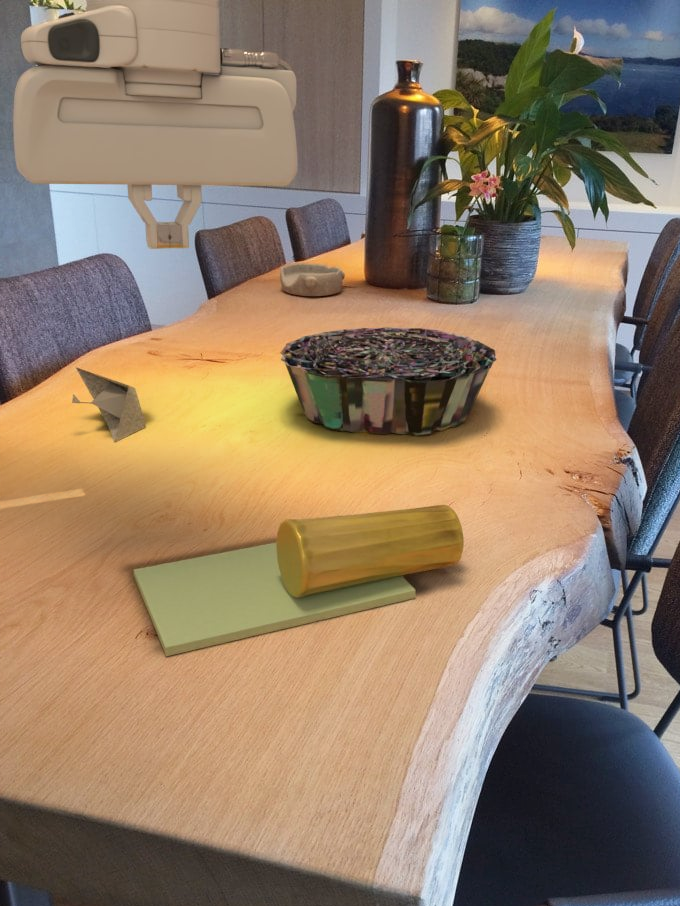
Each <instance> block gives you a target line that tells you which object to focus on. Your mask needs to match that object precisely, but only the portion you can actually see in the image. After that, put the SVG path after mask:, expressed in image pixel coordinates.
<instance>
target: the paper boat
mask: <svg viewBox="0 0 680 906" xmlns="http://www.w3.org/2000/svg"><path fill="white" fill-rule="evenodd" d="M75 369H76V371H77V373H78V374H79V376H80V378H81V380H82V382H83V383H84V385H85V386H86V389H87V391H88V392H89V394H90V395H91V398H92V399H93V400H92V401H91V402H89V401H88V402H87V401H80V400H79V398H78V397H77V396H76V395H75V394H72V402H71V403H72V404H90V405H93V406H95V407H97V408H98V410H99V411H100V413H101V415H102V417H103V419H104V421H105V422H106V425H107V428H108V430H109V432H110V435H111V438H112V440H113V442H114V443H117V442H119V441H122V440H123V439H124V438H127V437H129V436H131V435H133V434H135V433H137V432H139V431H141V430H144V429H145V428H146V420H145V417H144V413H143V410H142V406H141V403H140V400H139V396H138V393H137V390H136V387H134V386H131V385H128V384H126V383H123V382H120V381H117V380H114V379H111V378H109V377H105V376H103V375H99V374H98V373H94V372H91V371H88V370H85V369H83V368H79V367H77V366H76V367H75Z"/></svg>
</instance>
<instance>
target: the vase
mask: <svg viewBox="0 0 680 906" xmlns="http://www.w3.org/2000/svg"><path fill="white" fill-rule="evenodd" d="M464 540H465V539H464V533H463V527H462V523H461V521H460V519H459V516H458V514H457V513H456V512H455V510H454V509H453V508H452V507H451V506H449V505H447V504H439V505H438V504H437V505H430V506H429V505H428V506H422V507H421V506H420V507H414V508H406V509H405V508H404V509H398V510H397V509H396V510H386V511H376V512H365V513H359V514H347V515H332V516H323V517H312V518H298V519H297V518H296V519H295V518H294V519H293V518H292V519H291V518H286V519H283V520H282V521H281V523H279V526H278V529H277V533H276V542H277V543H276V542H275V543H276V548H277V559H278V566H279V570H280V574H281V577H282V581H283V583H284V586H285V588H286V590H287V591H288V592H289V594H290V595H291V596H293V597H295V598H299V597H303V596H306V595H309V594H313V593H318V592H323V591H328V590H333V589H338V588H342V587H347V586H352V585H356V584H361V583H366V582H370V581H375V580H380V579H385V578H390V577H394V576H400V575H402V576H404V575H409V574H415V573H420V572H426V571H431V570H438V569H443V568H445V569H446V568H449V567H453V566H456V565H457V564H458V563H459V562H460V561H461V558H462V556H463V552H464V544H465V543H464V542H465V541H464Z"/></svg>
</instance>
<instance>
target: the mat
mask: <svg viewBox="0 0 680 906" xmlns="http://www.w3.org/2000/svg"><path fill="white" fill-rule="evenodd" d="M276 543H277V541H276V542H271V543H266V544H260V545H255V546H250V547H244V548H240V549H235V550H228V551H224V552H219V553H218V552H217V553H214V554H208V555H203V556H198V557H192V558H187V559H182V560H176V561H171V562H166V563H161V564H156V565H151V566H145V567H140V568H135V569H133V578H134V580H135V583H136V585H137V588H138V590H139V593H140V595H141V597H142V600H143V603H144V606H145V607H146V610H147V612H148V614H149V618H150V619H151V623H152V625H153V627H154V629H155V632H156V635H157V637H158V640H159V642H160V645H161V647H162V650H163V652H164V654H165V656H166V657H170V656H175V655H178V654H182V653H188V652H193V651H197V650H200V649H204V648H209V647H213V646H216V645H221V644H225V643H230V642H235V641H238V640H243V639H247V638H251V637H255V636H260V635H264V634H268V633H272V632H276V631H281V630H284V629H290V628H293V627H298V626H302V625H307V624H310V623H314V622H319V621H323V620H327V619H333V618H335V617H340V616H344V615H350V614H352V613H353V614H354V613H358V612H362V611H367V610H370V609H376V608H379V607H383V606H388V605H391V604H396V603H400V602H404V601H409V600H413V599H416V593H417V591H416V590H417V589H416V588H415V587H414V586H413V585H411V584H410V582H409V581H408V580H407V579H406V578H405V577H404V575H400V576H394V577H390V578H385V579H380V580H375V581H370V582H366V583H361V584H356V585H352V586H347V587H342V588H338V589H333V590H328V591H323V592H318V593H313V594H309V595H306V596H303V597H299V598H295V597H293V596H291V595H290V594H289V592H288V591H287V590H286V588H285V586H284V583H283V581H282V577H281V574H280V570H279V566H278V559H277V548H276Z"/></svg>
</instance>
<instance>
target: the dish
mask: <svg viewBox="0 0 680 906" xmlns="http://www.w3.org/2000/svg"><path fill="white" fill-rule="evenodd" d="M345 276H346V274H345V271H343V270H342V269H341V268H340V267H338V266H332V267H330V266H328V265H327V264H320V263H308V262H307V263H305V262H303V263H302V262H300V263H298V262H297V263H291V264H287V265H283V266H281V267H280V269H279V280H280V284H281V288H282V290H283V291H284V292H285V293H287V294H291V295H294V296H300V297H302V296H303V297H322V296H323V297H324V296H330V295H336V294H338V293H340V292H341V291H342V288H343V281H344V280H345Z"/></svg>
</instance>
